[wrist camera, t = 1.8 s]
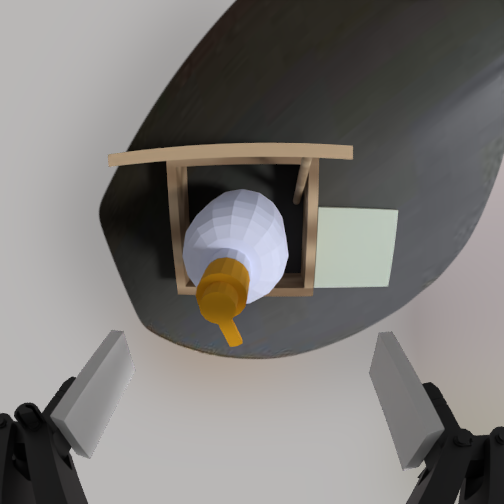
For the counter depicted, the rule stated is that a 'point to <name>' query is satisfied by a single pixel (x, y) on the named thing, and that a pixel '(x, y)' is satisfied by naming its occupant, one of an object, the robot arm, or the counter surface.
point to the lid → (232, 152)
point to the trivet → (354, 246)
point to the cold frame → (306, 181)
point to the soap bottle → (234, 255)
